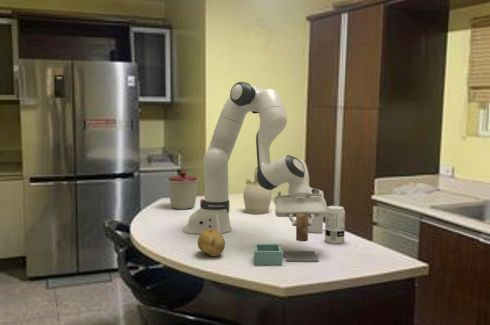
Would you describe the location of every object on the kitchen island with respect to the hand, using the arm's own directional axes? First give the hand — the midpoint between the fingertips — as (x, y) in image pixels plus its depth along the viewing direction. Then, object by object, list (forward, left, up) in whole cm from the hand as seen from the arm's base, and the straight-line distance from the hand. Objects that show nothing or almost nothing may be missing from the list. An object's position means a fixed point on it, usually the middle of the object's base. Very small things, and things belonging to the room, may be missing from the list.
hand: (302, 225), depth 185 cm
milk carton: (+11, +41, -13) cm, 44 cm away
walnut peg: (0, +1, -6) cm, 6 cm away
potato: (-35, +3, -13) cm, 38 cm away
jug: (-15, +81, -13) cm, 83 cm away
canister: (-57, +90, -13) cm, 107 cm away
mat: (0, +1, -13) cm, 13 cm away
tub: (-13, -4, -13) cm, 19 cm away
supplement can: (+17, +23, -13) cm, 31 cm away
